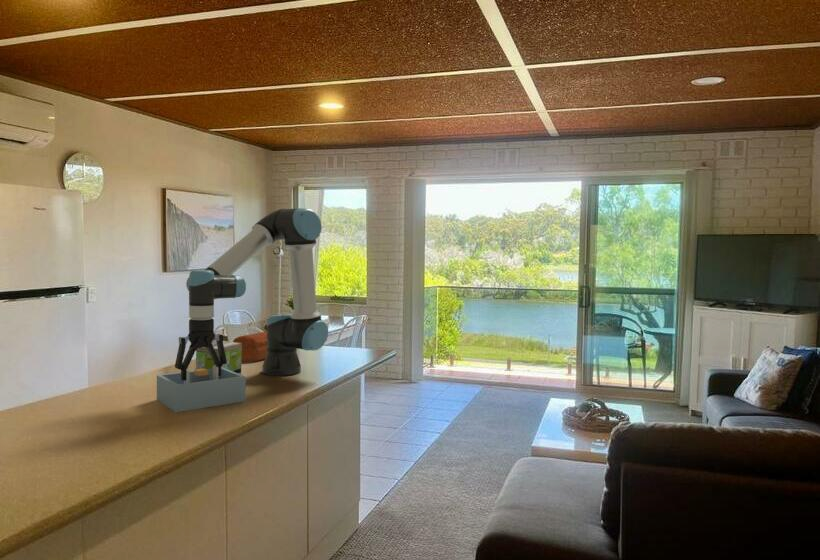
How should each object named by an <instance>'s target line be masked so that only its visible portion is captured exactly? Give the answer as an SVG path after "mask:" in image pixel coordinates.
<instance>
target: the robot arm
mask: <svg viewBox="0 0 820 560" xmlns="http://www.w3.org/2000/svg"><path fill="white" fill-rule="evenodd" d="M321 233H322V222H321V219H320V216H319V215H318V214H317V213H316V212H315V211H314V210H313V209H310V208H303V207H300V208H279V209H277V210H274V211H272V212H270V213H268V214H266V215H265V216H264V217H263V218H261V219H260V220H258V221H257V222H256V223H254V225H252V227H251V231H250V232H249V233H247V234H246V235H244V237H242V238H240V239H239V241H238V242H236V243H235V244H234V245H232V247H230V248H229V249H228V250H227V251H225V252H224V253H223V254H222V255H221V256H219V258H217V259H216V260H214V261H213V262H212V263H211V264H209V266H207V267H206V268H205V269H201V270H200V269H193V270H191V271H190V272H189V276H188V278H187V279H186V283H185V284H186V289H187V291H188V317H189V318H190V319H189V320H188V335H187V336H179V337H178V344H179V345H178V349H177V355H176V359H175V364H174V368H175V369H177V370H180V372H181V379H182V380H183V381H184V384H187V383H189V371H190V370H189V369H188V368H189V365H190V364H191V362H192V359H193V358H194V355H195V354H196V350H197V348H201V347H206V348H207V349H208V351H209V353H210V355H211V357H212V359H213V361H214V363H215V365H216V366H213V380H218V376H221V367H222V365H223V364H226V363H227V360H226V355H225V350H224V345H223V342H224V334H221V333H218V334H217V333H216V334H215V331H214V330H215V329H214V328H215V325H214V324H215V320H214V317H215V300H217V299H235V298H241V297H242V296H244V295H245V293H246V291H247V290H246V289H247V283H246V281H245V278H244V277H243V276H241V275H234V274H235V273H236V272H238V270H239V269H240V268H242V267H243V266H244V265H245V264H246V263H248V262H249V260H251V259H252V258H253V257H255V256H256V255H257V254H258V253H259V252H260V251H261V250H262V249H263V248H265V247H269V246H271V245H273V244H274V243H275V242H277V241H280V240H284V246H285V247H286V248H287V249H288V250H289V262H290V275H291V276H290V278H291V288H292V301H293V313H286V314H274V315H270V316H268V318H267V322H266V323H267V325H266V331H267V354H266V357H265V359H263V364H262V367H261V368H262V369H261V373H263V374H265V375H268V376H291V375H296V374H299V373H301V371H302V367H301V366H302V365H301V362H300V358H299V355H298V352H297V351H298V350H304V351H311V352H312V351H313V352H314V351H318V350H321V348H322V347H323V346H325V343H326V342H327V340H328V337H329V327H328V324H326V322H325V321H323V320H322V314H321V312H320V311H318V310H317V299H316V298H317V297H316V283H315V267H314V266H315V265H314V254H313V252H314V251H313V250H314V249H313V248H314V247H315V245H317V239H318V238H319V237H320V234H321ZM214 340H215V341H216V342H217V347H218V352H219V357H220V360H219V358H218V356H217V354H216V352H215V350H214V347H213V345H212V343H213V341H214ZM188 341H189V342H190V345H189V347H188V350H187V352H186V348H187V347H186V346H187V344H188ZM185 352H186V355H185ZM184 356H185V357H184Z"/></svg>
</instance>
